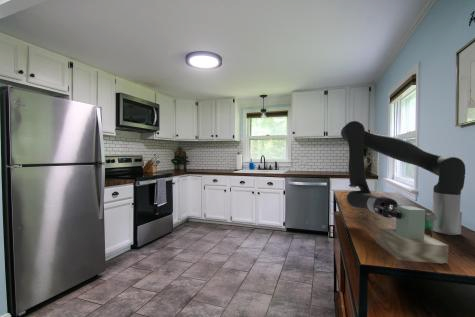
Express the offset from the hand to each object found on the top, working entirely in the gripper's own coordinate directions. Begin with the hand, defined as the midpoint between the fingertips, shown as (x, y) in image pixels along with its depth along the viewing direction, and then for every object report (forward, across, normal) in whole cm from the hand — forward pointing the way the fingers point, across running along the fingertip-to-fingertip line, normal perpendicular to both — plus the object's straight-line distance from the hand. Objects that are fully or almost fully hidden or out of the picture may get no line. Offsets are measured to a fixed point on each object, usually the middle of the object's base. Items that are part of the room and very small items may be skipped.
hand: (413, 216), depth 82 cm
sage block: (-1, 0, +7) cm, 7 cm away
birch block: (-1, 0, +13) cm, 13 cm away
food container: (-19, +21, +13) cm, 31 cm away
